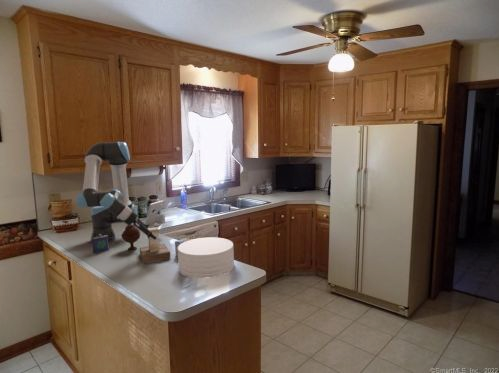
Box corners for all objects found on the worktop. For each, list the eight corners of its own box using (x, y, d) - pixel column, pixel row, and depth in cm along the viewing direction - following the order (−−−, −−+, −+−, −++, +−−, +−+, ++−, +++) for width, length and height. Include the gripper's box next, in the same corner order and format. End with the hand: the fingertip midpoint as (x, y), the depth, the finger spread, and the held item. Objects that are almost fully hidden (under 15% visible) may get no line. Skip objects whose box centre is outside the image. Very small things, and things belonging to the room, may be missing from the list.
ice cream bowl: (118, 251, 203) (116, 226, 200) (131, 245, 213) (129, 222, 211) (133, 253, 199) (131, 228, 197) (145, 247, 209) (143, 223, 207)
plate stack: (239, 258, 186) (239, 238, 184) (225, 280, 159) (224, 256, 157) (191, 256, 192) (190, 236, 190) (169, 276, 165) (168, 253, 163)
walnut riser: (140, 254, 196) (139, 247, 196) (164, 250, 202) (164, 243, 202) (144, 263, 182) (143, 256, 182) (170, 258, 188) (170, 251, 187)
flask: (107, 248, 208) (106, 231, 206) (110, 249, 206) (108, 232, 204) (92, 253, 201) (90, 235, 199) (94, 254, 199) (93, 236, 198)
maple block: (149, 249, 193) (147, 228, 191) (158, 247, 195) (156, 227, 193) (150, 251, 188) (148, 230, 187) (159, 250, 190) (158, 229, 189)
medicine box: (186, 252, 198) (185, 237, 197) (191, 253, 196) (190, 239, 194) (175, 256, 192) (174, 241, 191) (180, 257, 189) (179, 242, 188)
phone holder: (156, 221, 272) (155, 199, 270) (166, 222, 268) (165, 199, 265) (141, 226, 257) (139, 203, 254) (151, 228, 253) (150, 204, 250)
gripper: (120, 216, 194) (149, 237, 202) (124, 226, 171) (157, 250, 180) (129, 206, 195) (158, 228, 204) (135, 214, 173) (166, 239, 181)
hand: (157, 238), depth 192 cm, fingers open, 13 cm apart
